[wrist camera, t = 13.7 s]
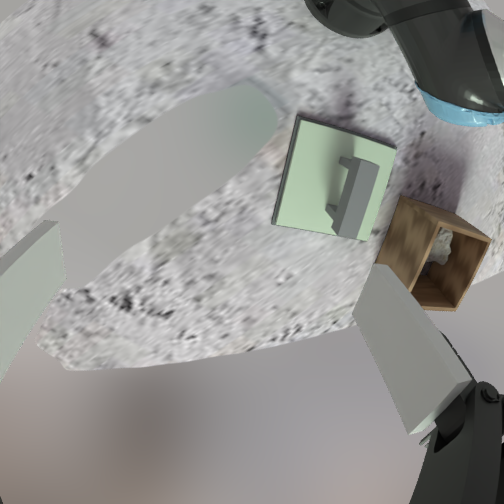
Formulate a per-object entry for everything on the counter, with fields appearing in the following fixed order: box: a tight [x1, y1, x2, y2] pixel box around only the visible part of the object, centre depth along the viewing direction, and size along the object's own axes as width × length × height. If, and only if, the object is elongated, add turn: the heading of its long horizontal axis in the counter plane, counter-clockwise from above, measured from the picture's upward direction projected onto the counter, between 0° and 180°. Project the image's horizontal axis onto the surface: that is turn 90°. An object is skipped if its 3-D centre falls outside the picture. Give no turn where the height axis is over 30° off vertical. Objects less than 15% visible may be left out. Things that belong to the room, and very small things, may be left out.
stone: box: [425, 227, 453, 265], centre depth 49 cm, size 8×10×6 cm
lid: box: [275, 120, 397, 241], centre depth 41 cm, size 17×17×9 cm
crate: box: [375, 195, 492, 311], centre depth 46 cm, size 16×16×12 cm
